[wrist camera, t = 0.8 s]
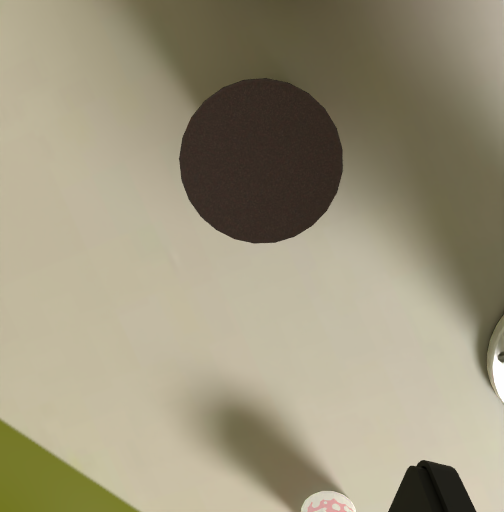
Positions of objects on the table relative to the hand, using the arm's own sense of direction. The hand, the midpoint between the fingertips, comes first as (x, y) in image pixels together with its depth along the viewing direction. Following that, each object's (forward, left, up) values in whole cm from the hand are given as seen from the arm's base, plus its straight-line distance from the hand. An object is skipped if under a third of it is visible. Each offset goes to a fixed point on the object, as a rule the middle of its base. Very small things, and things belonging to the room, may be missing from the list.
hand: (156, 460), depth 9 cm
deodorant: (-1, -4, -26) cm, 26 cm away
